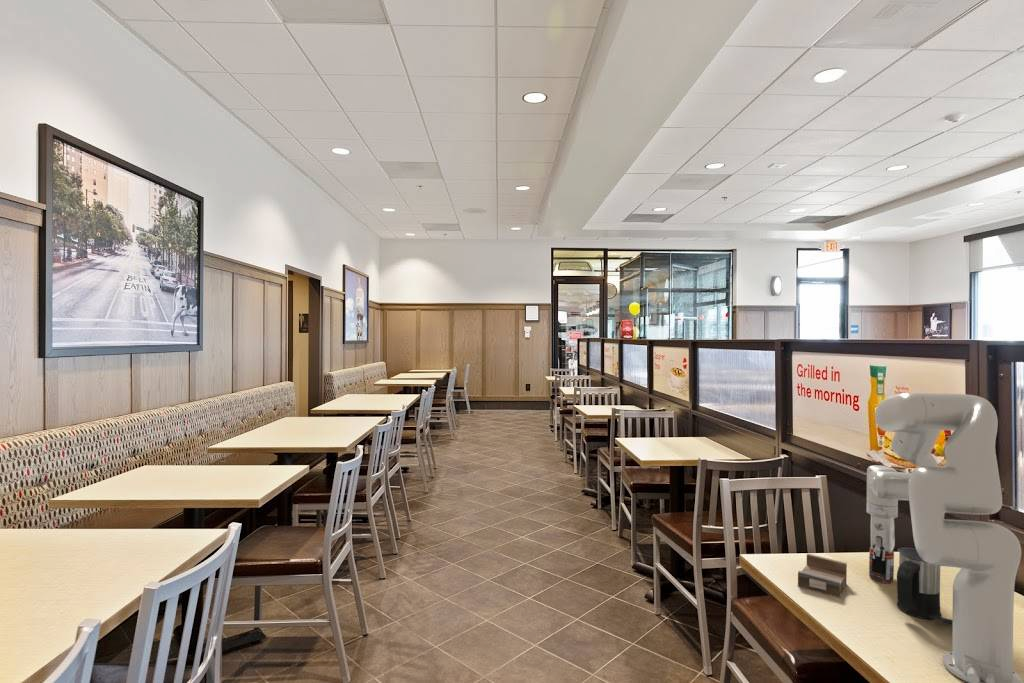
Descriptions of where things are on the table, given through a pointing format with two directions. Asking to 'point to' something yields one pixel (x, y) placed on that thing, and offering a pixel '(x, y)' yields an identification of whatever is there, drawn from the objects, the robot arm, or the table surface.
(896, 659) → the table surface
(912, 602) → the milk frother
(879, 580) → the supplement bottle
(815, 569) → the shelf
